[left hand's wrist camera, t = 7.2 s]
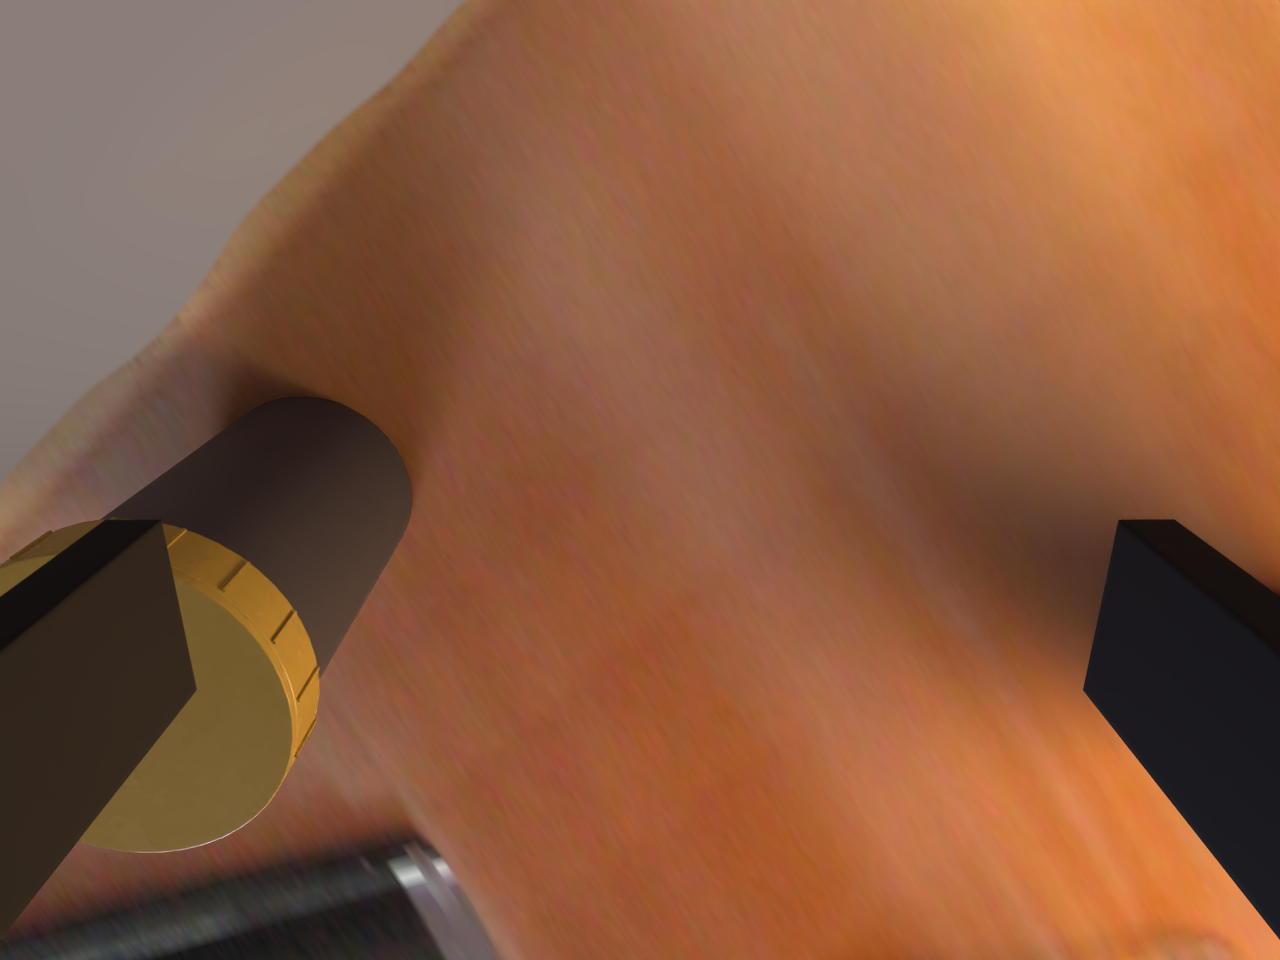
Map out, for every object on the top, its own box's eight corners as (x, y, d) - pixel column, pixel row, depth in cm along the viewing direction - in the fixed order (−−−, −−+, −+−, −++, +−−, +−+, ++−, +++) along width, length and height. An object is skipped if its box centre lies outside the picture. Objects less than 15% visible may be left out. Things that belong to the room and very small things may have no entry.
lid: (-2, 775, 30) (-53, 828, 28) (-29, 491, 26) (-91, 525, 24) (312, 819, 31) (286, 873, 28) (328, 547, 27) (300, 585, 25)
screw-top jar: (214, 561, 44) (-25, 805, 28) (216, 380, 40) (-54, 541, 25) (403, 590, 44) (273, 846, 28) (420, 414, 41) (283, 593, 25)
